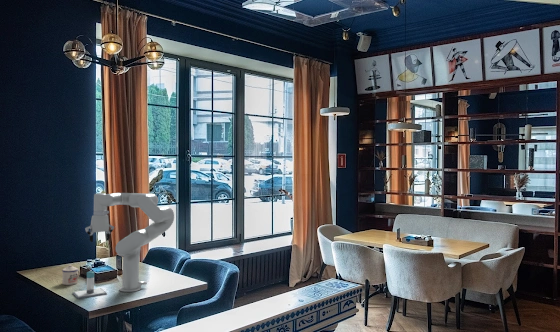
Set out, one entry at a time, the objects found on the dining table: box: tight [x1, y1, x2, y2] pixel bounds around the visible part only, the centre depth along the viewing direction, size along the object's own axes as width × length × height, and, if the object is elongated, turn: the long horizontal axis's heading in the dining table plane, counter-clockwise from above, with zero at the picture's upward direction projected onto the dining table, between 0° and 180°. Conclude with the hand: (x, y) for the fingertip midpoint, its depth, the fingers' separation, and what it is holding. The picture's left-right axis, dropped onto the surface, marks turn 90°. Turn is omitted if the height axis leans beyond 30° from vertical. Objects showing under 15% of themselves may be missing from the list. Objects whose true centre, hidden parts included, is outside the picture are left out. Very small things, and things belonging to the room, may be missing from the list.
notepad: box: [72, 287, 108, 300], centre depth 272 cm, size 16×12×1 cm
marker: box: [86, 270, 95, 294], centre depth 271 cm, size 4×4×12 cm
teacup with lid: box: [61, 264, 81, 286], centre depth 294 cm, size 12×9×12 cm
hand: (99, 241), depth 287 cm, fingers open, 9 cm apart
